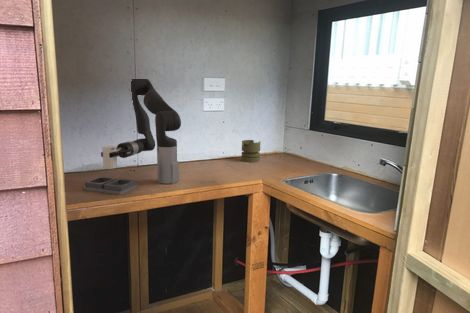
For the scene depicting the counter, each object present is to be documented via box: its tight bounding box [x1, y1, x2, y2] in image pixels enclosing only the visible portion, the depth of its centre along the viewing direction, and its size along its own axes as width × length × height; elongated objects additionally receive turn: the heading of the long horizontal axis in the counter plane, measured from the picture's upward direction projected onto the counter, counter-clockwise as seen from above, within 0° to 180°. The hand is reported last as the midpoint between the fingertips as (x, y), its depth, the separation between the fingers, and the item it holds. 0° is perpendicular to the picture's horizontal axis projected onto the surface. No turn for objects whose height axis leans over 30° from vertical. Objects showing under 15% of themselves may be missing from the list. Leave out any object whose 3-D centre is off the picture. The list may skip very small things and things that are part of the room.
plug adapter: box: [101, 145, 118, 170], centre depth 173 cm, size 4×5×10 cm
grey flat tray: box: [82, 176, 138, 195], centre depth 161 cm, size 19×12×3 cm, turn 71°
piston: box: [241, 139, 261, 164], centre depth 225 cm, size 11×12×11 cm
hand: (105, 155), depth 170 cm, fingers closed on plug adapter, 4 cm apart
